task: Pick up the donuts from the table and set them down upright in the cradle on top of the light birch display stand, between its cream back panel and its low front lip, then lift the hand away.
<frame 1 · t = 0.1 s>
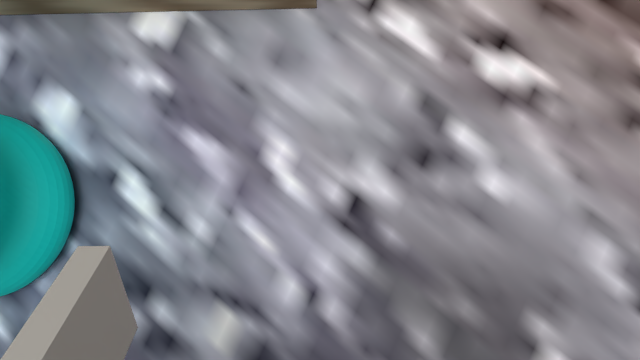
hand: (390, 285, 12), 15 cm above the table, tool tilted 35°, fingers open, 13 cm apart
donuts: (1, 205, 29), on the table
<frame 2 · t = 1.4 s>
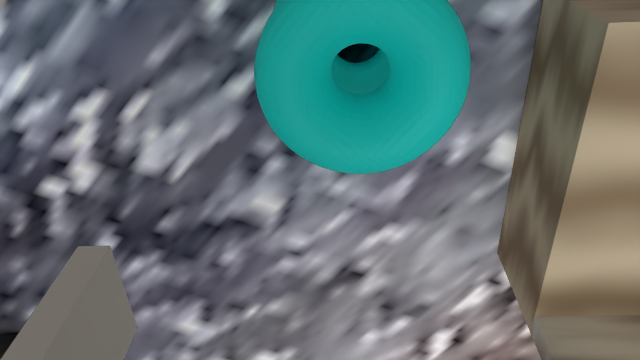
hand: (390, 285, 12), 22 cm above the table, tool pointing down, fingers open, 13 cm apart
donuts: (355, 27, 31), on the table
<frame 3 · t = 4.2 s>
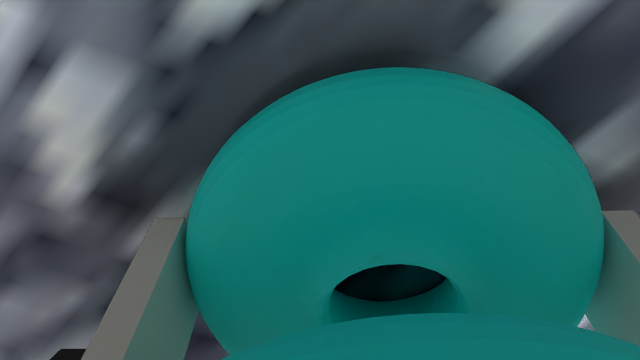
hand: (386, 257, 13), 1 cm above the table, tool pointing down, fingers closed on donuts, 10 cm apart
donuts: (382, 222, 14), on the table, touching gripper
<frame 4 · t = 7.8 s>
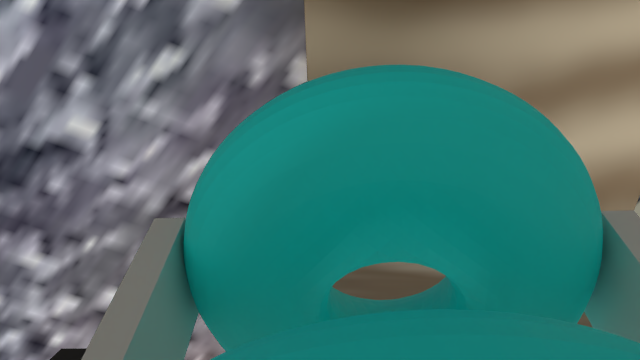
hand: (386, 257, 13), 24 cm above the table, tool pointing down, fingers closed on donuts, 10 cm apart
donuts: (381, 221, 14), point 23 cm above the table, touching gripper
display stand: (458, 58, 35), on the table
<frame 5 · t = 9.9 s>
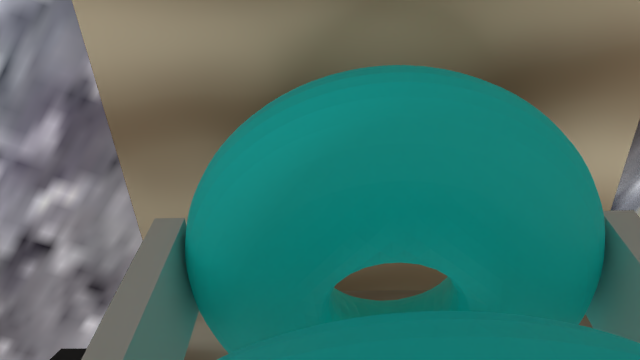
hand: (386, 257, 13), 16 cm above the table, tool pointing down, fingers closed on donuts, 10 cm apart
donuts: (382, 221, 14), point 14 cm above the table, touching gripper
display stand: (360, 58, 26), on the table
when the fingers open (11 cm above the table, at t = 11.8 s): donuts drops 1 cm, resting on display stand.
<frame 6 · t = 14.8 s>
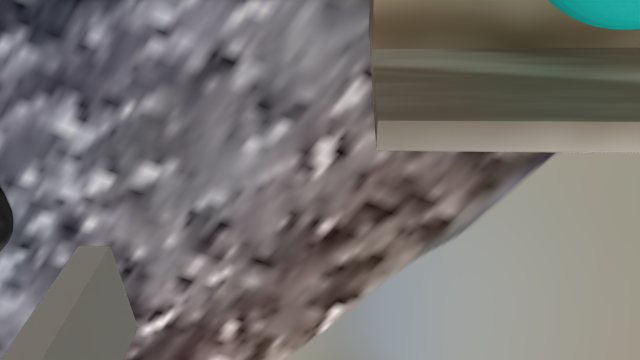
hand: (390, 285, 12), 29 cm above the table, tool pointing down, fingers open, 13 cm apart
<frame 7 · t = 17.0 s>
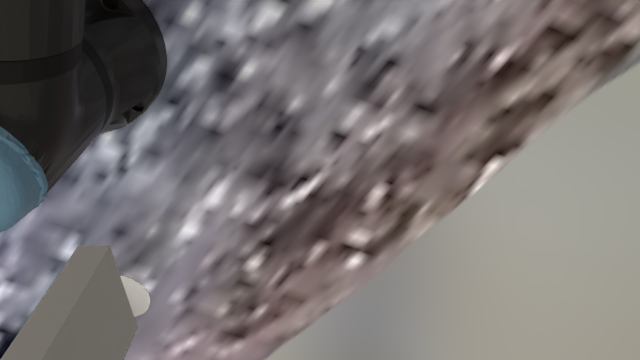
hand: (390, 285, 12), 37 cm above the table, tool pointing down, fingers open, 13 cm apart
wineglass: (121, 295, 64), on the table
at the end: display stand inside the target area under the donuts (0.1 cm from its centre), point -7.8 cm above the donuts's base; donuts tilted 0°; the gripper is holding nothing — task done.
